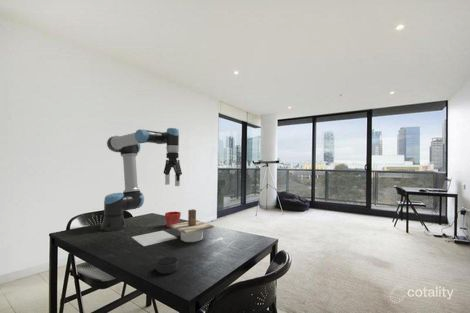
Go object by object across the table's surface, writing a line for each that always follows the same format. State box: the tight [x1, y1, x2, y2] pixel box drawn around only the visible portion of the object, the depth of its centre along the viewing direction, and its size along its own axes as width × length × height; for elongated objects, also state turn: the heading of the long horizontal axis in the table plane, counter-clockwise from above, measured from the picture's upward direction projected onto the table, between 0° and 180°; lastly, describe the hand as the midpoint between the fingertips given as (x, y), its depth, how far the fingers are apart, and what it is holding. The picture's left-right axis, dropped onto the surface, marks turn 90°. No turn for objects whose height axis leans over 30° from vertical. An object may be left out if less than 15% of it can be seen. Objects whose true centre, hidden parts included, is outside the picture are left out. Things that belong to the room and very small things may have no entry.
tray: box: [131, 230, 178, 247], centre depth 135 cm, size 20×20×1 cm
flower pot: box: [164, 211, 182, 229], centre depth 160 cm, size 11×11×10 cm
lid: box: [171, 208, 214, 234], centre depth 134 cm, size 18×18×10 cm
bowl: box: [180, 230, 204, 243], centre depth 134 cm, size 12×12×7 cm
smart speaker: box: [156, 256, 179, 275], centre depth 96 cm, size 9×9×4 cm
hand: (172, 185), depth 145 cm, fingers open, 13 cm apart
